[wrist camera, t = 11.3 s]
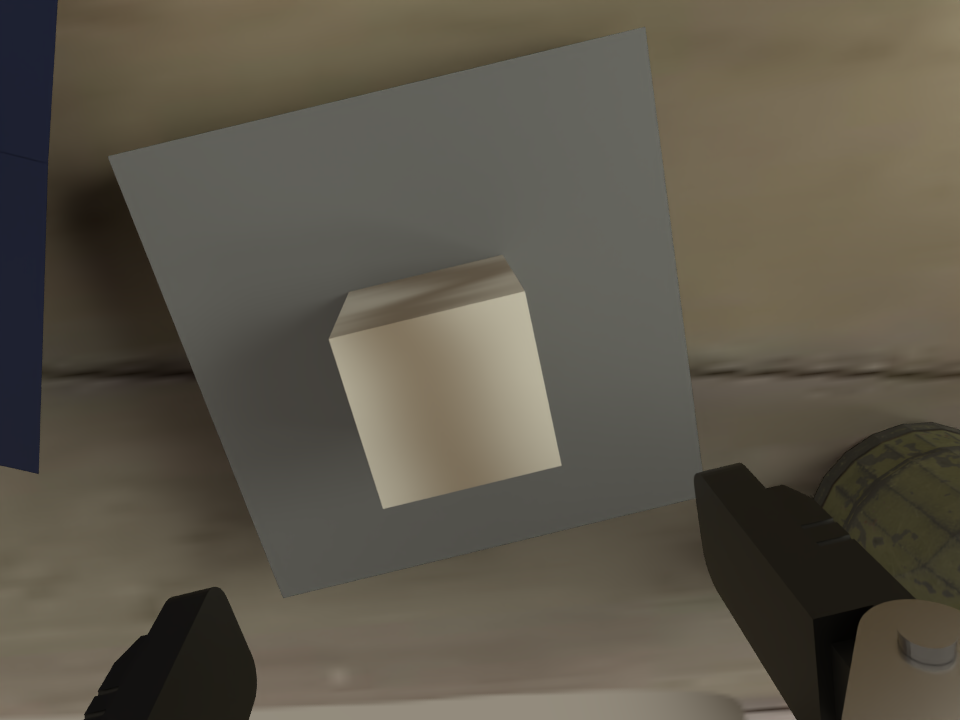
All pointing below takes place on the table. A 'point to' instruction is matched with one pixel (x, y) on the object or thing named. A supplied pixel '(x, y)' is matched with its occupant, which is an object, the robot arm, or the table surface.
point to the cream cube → (445, 381)
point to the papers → (23, 219)
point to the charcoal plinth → (418, 250)
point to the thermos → (903, 505)
